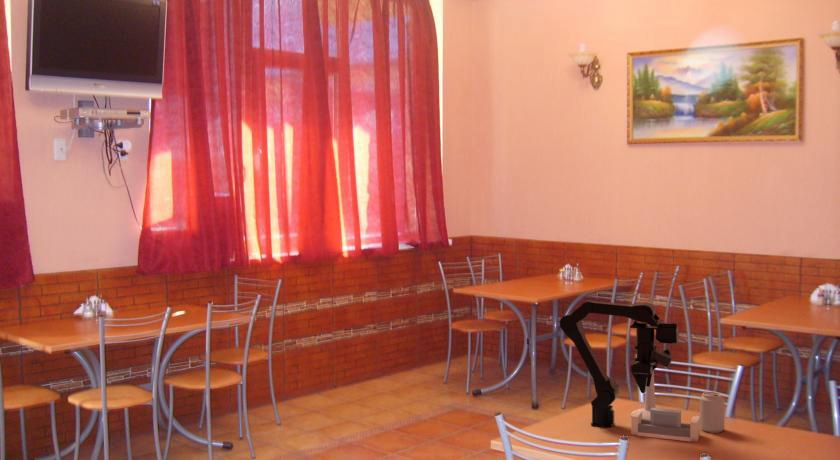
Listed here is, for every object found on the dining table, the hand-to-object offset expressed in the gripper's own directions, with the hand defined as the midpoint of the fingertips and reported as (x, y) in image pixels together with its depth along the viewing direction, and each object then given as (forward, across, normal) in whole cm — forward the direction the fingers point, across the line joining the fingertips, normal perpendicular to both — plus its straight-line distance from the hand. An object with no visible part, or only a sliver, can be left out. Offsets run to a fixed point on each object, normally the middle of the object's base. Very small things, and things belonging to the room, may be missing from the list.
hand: (645, 389), depth 270 cm
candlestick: (+13, +15, +1) cm, 20 cm away
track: (+13, -4, -7) cm, 15 cm away
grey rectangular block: (+12, -4, -7) cm, 14 cm away
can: (+13, +7, -20) cm, 25 cm away
